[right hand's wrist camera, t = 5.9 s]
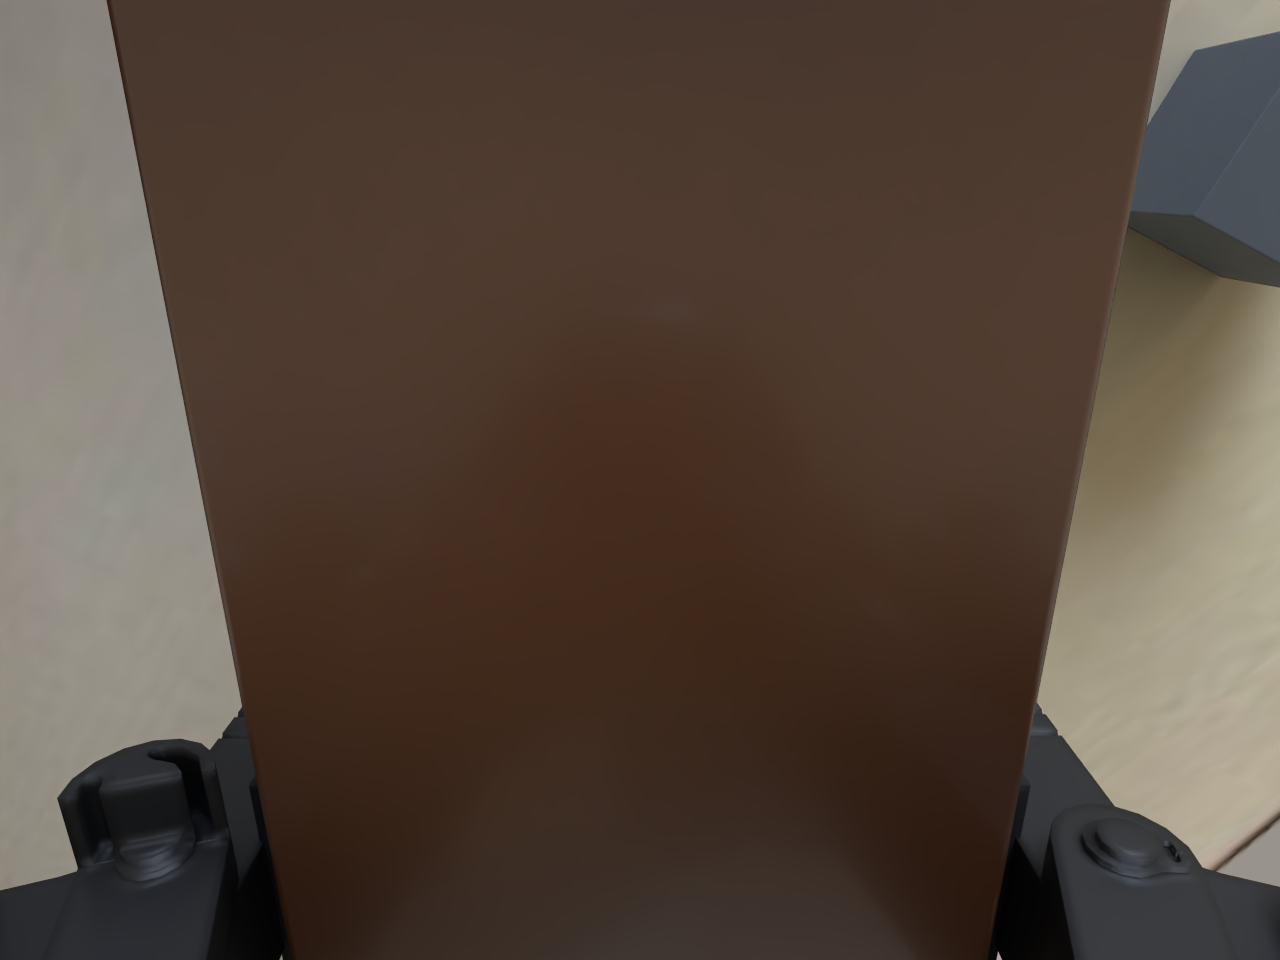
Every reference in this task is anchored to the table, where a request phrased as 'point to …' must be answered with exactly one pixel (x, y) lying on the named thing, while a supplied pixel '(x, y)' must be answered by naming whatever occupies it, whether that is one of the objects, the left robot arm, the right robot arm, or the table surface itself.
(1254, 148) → the slate block
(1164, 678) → the table surface
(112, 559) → the table surface
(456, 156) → the walnut box
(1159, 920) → the right robot arm
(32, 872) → the table surface
